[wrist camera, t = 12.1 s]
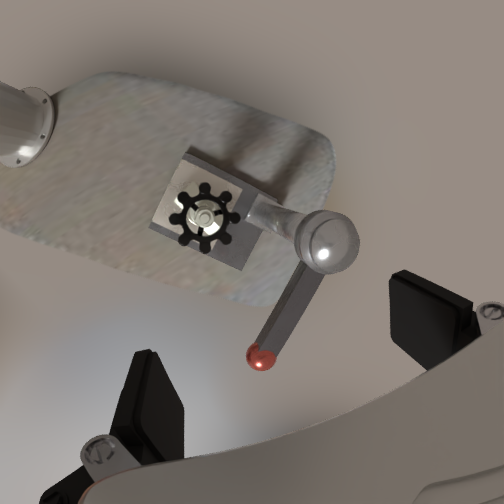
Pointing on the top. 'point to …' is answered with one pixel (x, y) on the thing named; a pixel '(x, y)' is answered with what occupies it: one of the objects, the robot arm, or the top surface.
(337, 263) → the press
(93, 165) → the top surface
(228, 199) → the valve
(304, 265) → the lever
